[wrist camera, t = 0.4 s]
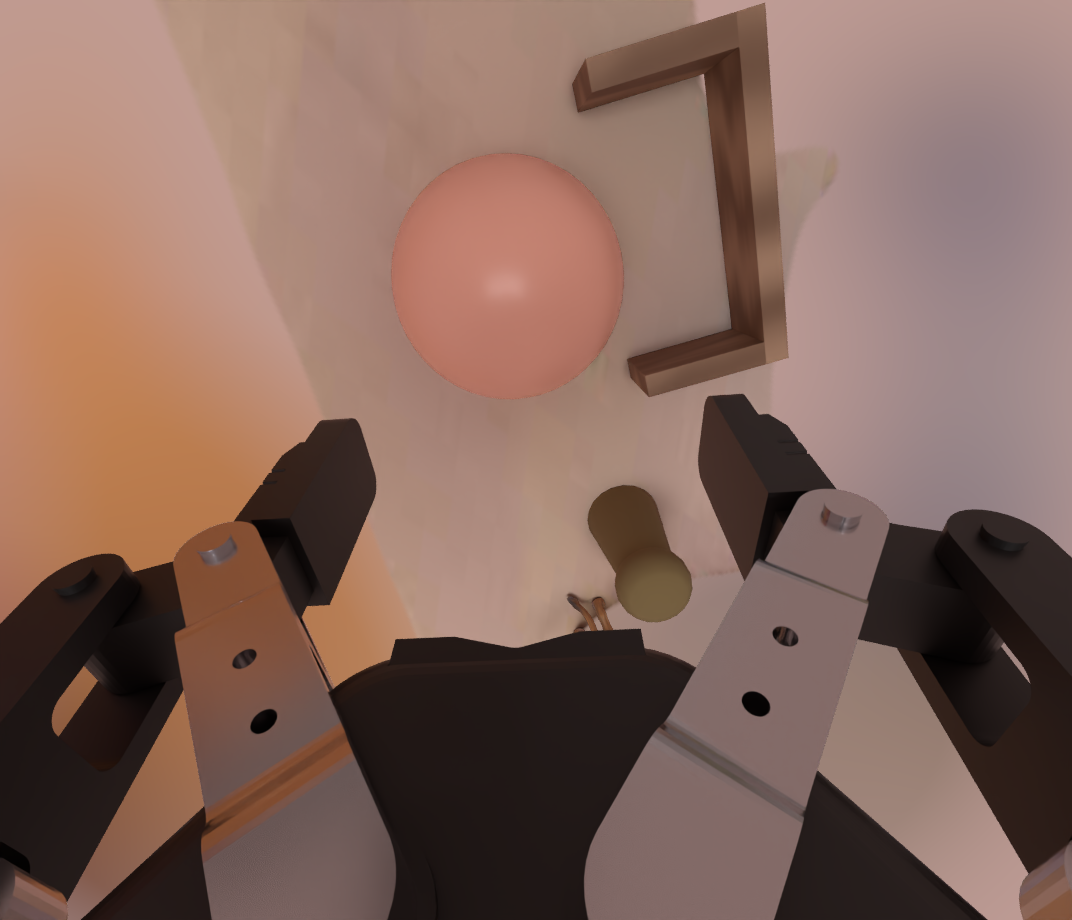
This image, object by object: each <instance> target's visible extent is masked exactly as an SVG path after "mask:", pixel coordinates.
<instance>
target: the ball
mask: <svg viewBox="0 0 1072 920" xmlns="http://www.w3.org/2000/svg"><path fill="white" fill-rule="evenodd" d="M391 276H392V290H393V296H394V302H395V306H396V310H397V313H398V316H399V319H400V322H401V324H402V326H403V329H404V331H405V333H406V335H407V337H408V338H409V340H410V342H411V343H412V345H413V347H414V348H415V350H416V351H417V352H418V353H419V355H420V356H421V357H422V358H423V360H424V361H425V362H426V363H427V364H428V365H429V366H430V367H431V368H432V369H433V370H434V371H436V372H437V373H438V374H440V375H441V376H442V377H443V378H445V379H446V380H448V381H449V382H451V383H453V384H454V385H456V386H458V387H460V388H462V389H465V390H467V391H469V392H472V393H475V394H478V395H482V396H485V397H491V398H498V399H520V398H528V397H533V396H537V395H541V394H544V393H547V392H550V391H552V390H554V389H556V388H558V387H560V386H562V385H564V384H566V383H568V382H569V381H571V380H572V379H574V378H575V377H577V376H578V375H579V374H580V373H581V372H582V371H584V370H585V369H586V368H587V367H588V366H589V365H590V364H591V363H592V362H593V360H594V359H595V358H596V357H597V356H598V354H599V353H600V352H601V350H602V349H603V347H604V346H605V344H606V343H607V341H608V339H609V337H610V335H611V333H612V331H613V329H614V326H615V324H616V321H617V318H618V315H619V311H620V307H621V303H622V296H623V288H624V270H623V262H622V254H621V250H620V247H619V243H618V239H617V236H616V234H615V231H614V229H613V226H612V223H611V221H610V220H609V218H608V216H607V214H606V212H605V211H604V209H603V207H602V206H601V204H600V203H599V202H598V200H597V199H596V198H595V196H594V195H593V194H592V193H591V192H590V191H589V190H588V189H587V188H586V187H585V186H584V185H583V184H582V183H581V182H580V181H579V180H577V179H576V178H575V177H574V176H572V175H571V174H570V173H568V172H567V171H565V170H563V169H561V168H560V167H558V166H556V165H554V164H552V163H549V162H547V161H544V160H542V159H539V158H535V157H531V156H527V155H522V154H510V153H502V154H489V155H484V156H480V157H476V158H472V159H469V160H467V161H464V162H462V163H459V164H457V165H455V166H454V167H452V168H450V169H448V170H447V171H445V172H443V173H442V174H441V175H439V176H438V177H437V178H436V179H434V180H433V181H432V182H431V183H430V184H429V185H428V186H427V187H426V188H425V189H424V190H423V191H422V192H421V193H420V194H419V195H418V197H417V198H416V200H415V201H414V202H413V204H412V205H411V207H410V208H409V210H408V212H407V214H406V216H405V218H404V220H403V222H402V224H401V226H400V229H399V232H398V235H397V238H396V241H395V246H394V251H393V256H392V269H391Z"/></svg>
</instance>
